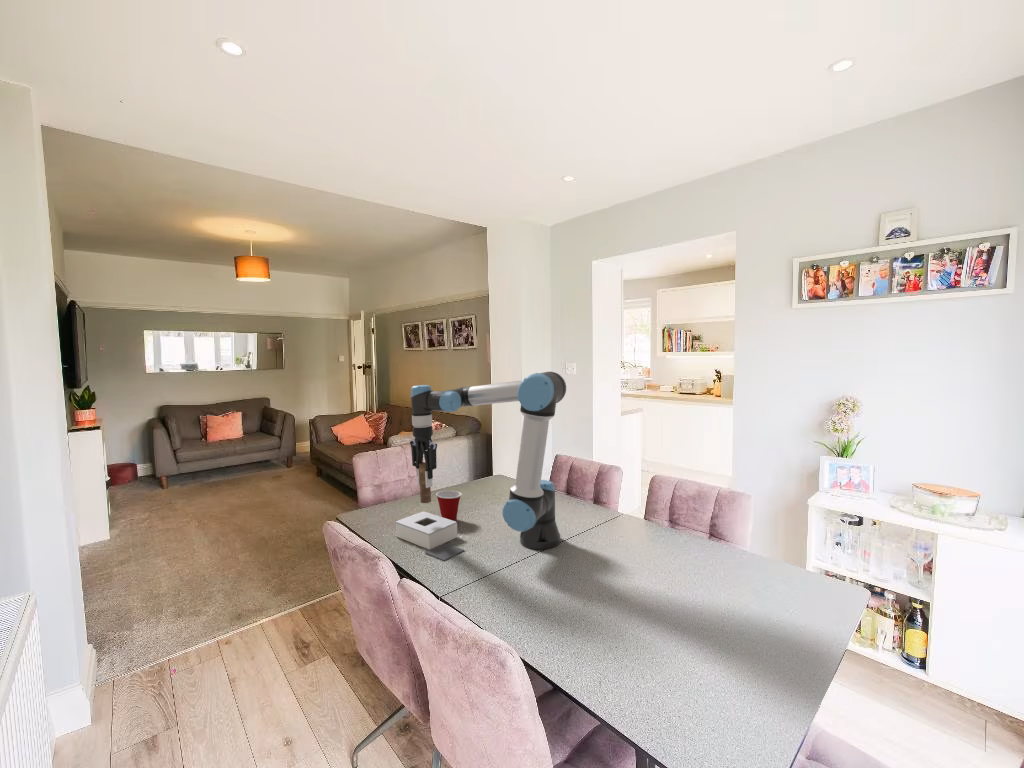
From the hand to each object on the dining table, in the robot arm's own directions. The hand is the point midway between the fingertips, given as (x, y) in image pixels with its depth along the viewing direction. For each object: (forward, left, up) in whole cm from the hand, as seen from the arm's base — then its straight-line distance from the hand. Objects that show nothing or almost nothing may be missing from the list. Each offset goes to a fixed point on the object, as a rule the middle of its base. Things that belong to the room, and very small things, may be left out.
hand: (425, 485), depth 181 cm
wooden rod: (0, 0, -6) cm, 6 cm away
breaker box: (+1, 0, -20) cm, 20 cm away
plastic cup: (+6, -17, -21) cm, 27 cm away
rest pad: (-15, +5, -20) cm, 26 cm away
